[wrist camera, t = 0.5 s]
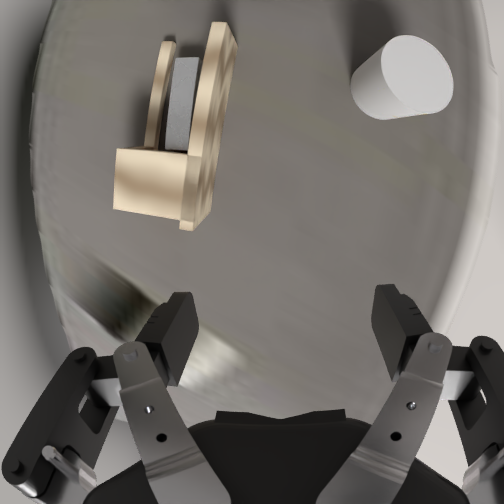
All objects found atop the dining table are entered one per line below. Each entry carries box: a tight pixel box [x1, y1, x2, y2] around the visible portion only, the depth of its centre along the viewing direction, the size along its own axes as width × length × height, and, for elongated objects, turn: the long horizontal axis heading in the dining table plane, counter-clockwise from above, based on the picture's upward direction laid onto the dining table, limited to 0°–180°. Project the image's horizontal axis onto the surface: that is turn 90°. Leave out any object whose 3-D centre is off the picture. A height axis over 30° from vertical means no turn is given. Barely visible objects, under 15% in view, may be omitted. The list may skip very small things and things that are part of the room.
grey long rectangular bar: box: [165, 57, 203, 150], centre depth 32 cm, size 12×3×4 cm, turn 173°
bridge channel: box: [114, 22, 238, 231], centre depth 30 cm, size 23×10×8 cm, turn 170°
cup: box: [350, 35, 453, 120], centre depth 24 cm, size 8×8×12 cm
